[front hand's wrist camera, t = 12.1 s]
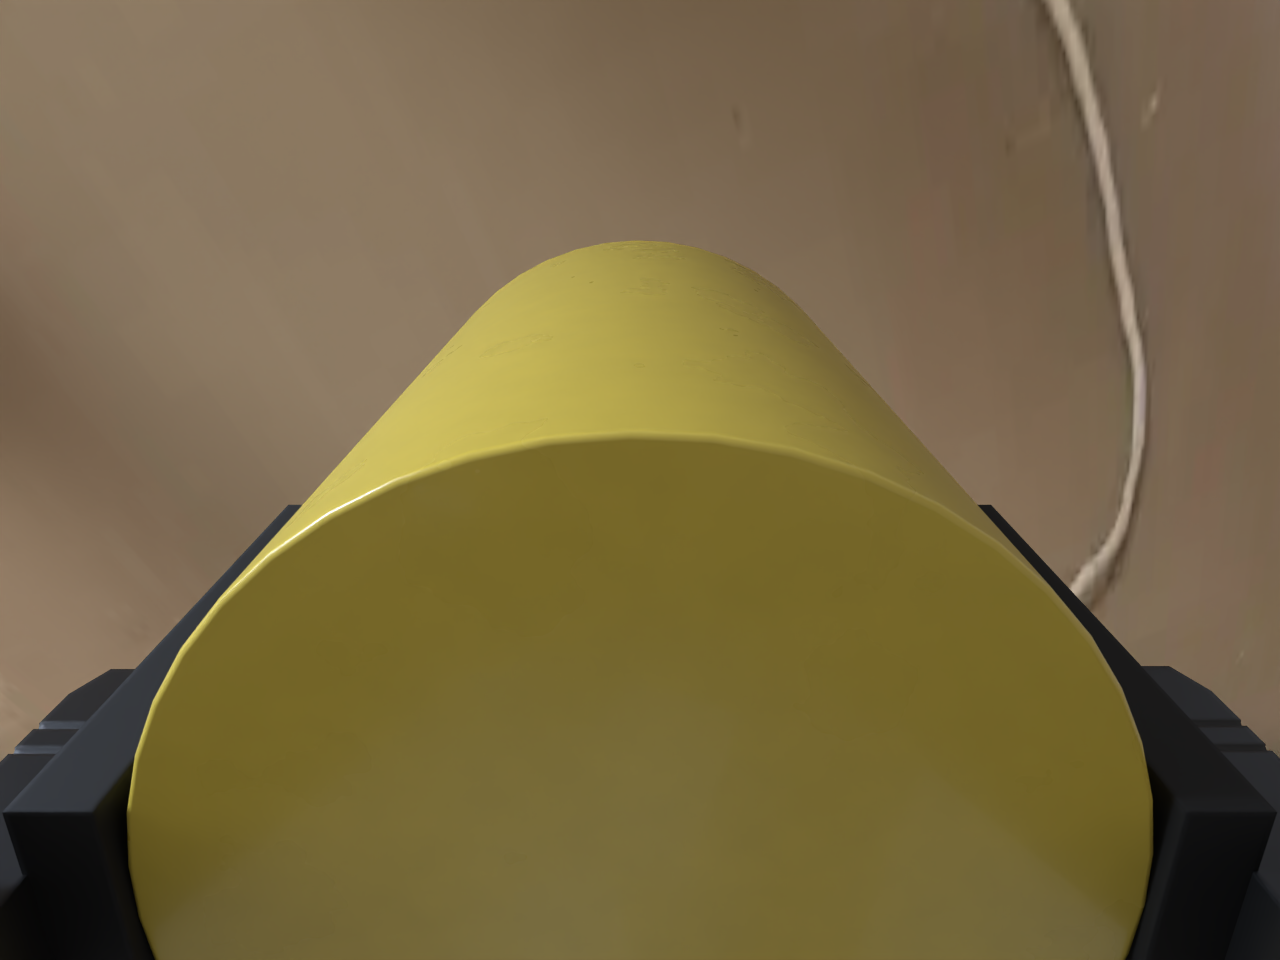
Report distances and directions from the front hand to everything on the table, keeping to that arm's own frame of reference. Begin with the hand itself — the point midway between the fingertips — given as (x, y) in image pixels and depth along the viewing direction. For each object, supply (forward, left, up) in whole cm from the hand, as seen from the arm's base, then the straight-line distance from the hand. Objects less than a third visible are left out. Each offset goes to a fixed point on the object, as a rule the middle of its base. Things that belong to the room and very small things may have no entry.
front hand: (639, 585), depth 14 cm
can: (0, 0, -5) cm, 5 cm away
